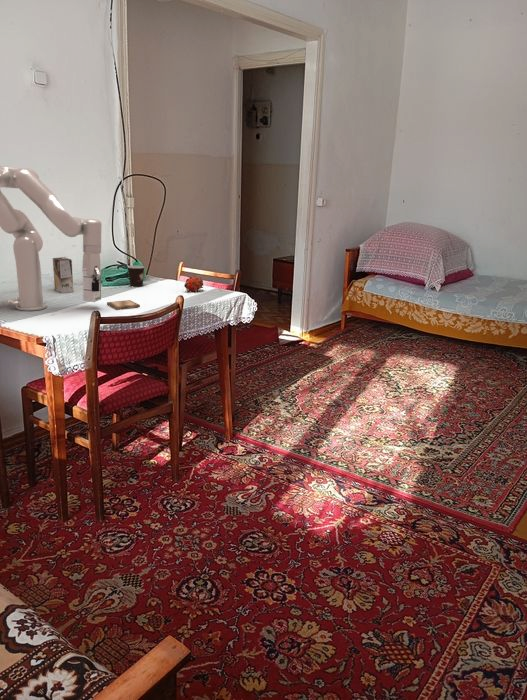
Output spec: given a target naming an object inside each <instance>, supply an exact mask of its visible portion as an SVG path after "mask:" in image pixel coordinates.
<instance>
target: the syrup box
mask: <svg viewBox="0 0 527 700" xmlns="http://www.w3.org/2000/svg"><path fill="white" fill-rule="evenodd" d="M101 273H102V270H101V271H100V282H99V291H96V292H92V276H87V271H86V268H83V272H82V300H83V301H84V302H89V303H90V302H91V303H96V302H99V301H101V300H102V274H101ZM93 275H96V273H95V271H94V273H93ZM94 279H95V277H94Z"/></svg>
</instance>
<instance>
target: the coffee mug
mask: <svg viewBox="0 0 527 700" xmlns="http://www.w3.org/2000/svg"><path fill="white" fill-rule="evenodd" d="M125 275H126V278H127V280H128V281H129V286H130V287H132V286H133V288H140V287H143V286H144V275H145V266H143V265H128V266H127V271H126V274H125Z"/></svg>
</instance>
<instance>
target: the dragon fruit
mask: <svg viewBox="0 0 527 700" xmlns="http://www.w3.org/2000/svg"><path fill="white" fill-rule="evenodd" d="M183 287H184V288H185V290H186V292H190V291H191V292H195V291H196V292H199V291H200V289H202V288H204V279H202V277H200V276H198V277H197V276H196V275H194V277H193V276H190V277H189V278H186V279H185V283H184V286H183ZM198 290H199V291H198Z"/></svg>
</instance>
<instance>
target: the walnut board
mask: <svg viewBox="0 0 527 700" xmlns="http://www.w3.org/2000/svg"><path fill="white" fill-rule="evenodd" d="M106 306H109V307H110V308H111V309H114V310H116V311H120V309H121V310H129V309H138V307H141V305H140V303H137V302H135V301H133V300H130V299H128V300H127V299H125V300H117V301H108V302H106Z"/></svg>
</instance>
